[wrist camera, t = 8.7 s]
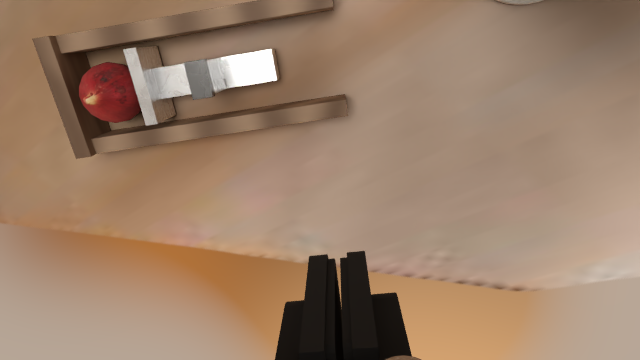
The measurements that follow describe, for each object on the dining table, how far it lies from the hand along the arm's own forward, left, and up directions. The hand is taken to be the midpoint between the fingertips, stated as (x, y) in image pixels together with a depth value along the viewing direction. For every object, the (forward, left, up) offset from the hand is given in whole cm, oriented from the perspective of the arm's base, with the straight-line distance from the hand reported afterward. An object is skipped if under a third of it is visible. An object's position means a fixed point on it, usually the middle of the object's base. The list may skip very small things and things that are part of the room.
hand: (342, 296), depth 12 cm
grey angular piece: (+12, -6, -34) cm, 36 cm away
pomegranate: (+21, -6, -34) cm, 41 cm away
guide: (+13, -6, -34) cm, 37 cm away
